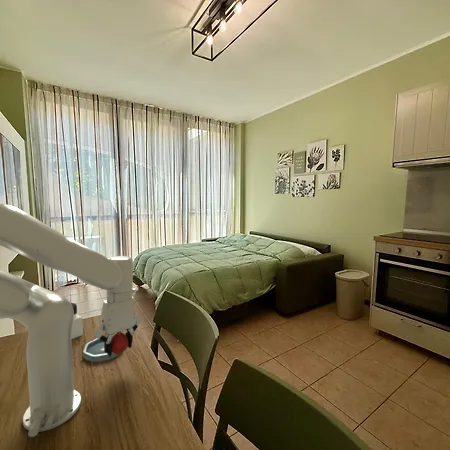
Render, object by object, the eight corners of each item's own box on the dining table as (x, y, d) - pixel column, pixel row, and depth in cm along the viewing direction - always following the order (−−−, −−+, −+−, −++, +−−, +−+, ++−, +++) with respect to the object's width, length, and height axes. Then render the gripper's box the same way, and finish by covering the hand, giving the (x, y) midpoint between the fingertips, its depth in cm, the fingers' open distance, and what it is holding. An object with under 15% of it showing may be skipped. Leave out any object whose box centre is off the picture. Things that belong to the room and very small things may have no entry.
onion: (109, 351, 84) (109, 327, 83) (127, 348, 86) (128, 325, 86) (108, 361, 79) (109, 336, 78) (128, 358, 81) (129, 333, 80)
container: (74, 329, 108) (73, 299, 107) (83, 335, 104) (81, 304, 102) (53, 336, 102) (52, 305, 100) (62, 343, 97) (60, 310, 96)
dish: (122, 358, 89) (122, 352, 89) (79, 365, 85) (79, 359, 85) (124, 338, 101) (124, 333, 101) (87, 343, 97) (87, 338, 97)
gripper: (138, 287, 90) (137, 336, 91) (86, 298, 77) (85, 355, 78) (150, 292, 85) (148, 344, 86) (96, 305, 72) (95, 366, 73)
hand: (118, 349), depth 82 cm, fingers closed on onion, 5 cm apart
